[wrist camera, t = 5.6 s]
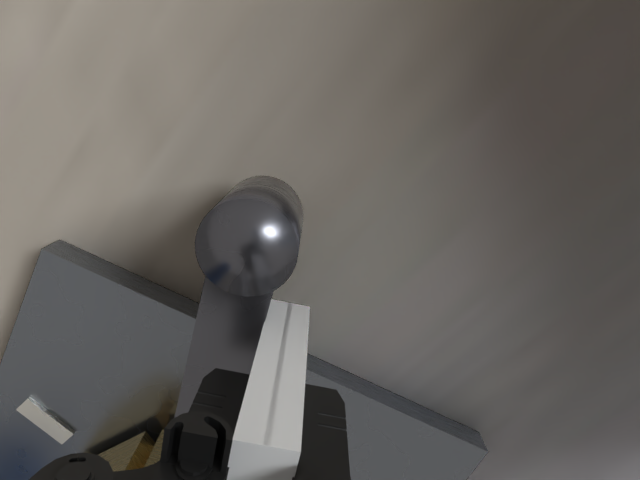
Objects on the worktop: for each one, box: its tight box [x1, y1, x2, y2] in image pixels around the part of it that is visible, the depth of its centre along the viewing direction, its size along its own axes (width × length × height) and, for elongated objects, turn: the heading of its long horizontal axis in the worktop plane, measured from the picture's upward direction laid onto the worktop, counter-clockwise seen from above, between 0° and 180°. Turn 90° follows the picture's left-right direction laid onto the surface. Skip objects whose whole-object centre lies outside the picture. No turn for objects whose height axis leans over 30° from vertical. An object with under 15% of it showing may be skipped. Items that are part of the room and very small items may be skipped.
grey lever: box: [98, 176, 303, 471], centre depth 17 cm, size 22×11×4 cm, turn 164°
